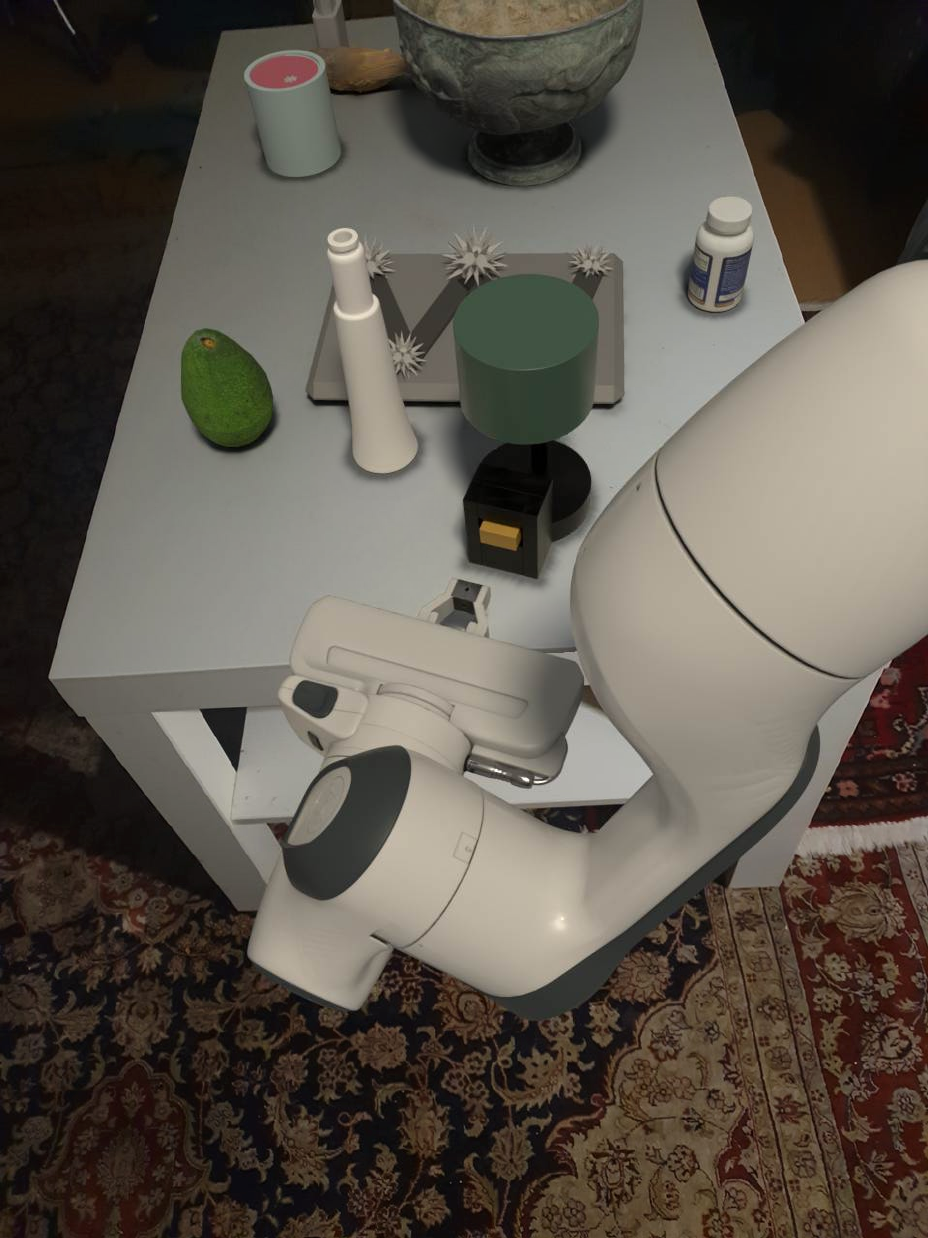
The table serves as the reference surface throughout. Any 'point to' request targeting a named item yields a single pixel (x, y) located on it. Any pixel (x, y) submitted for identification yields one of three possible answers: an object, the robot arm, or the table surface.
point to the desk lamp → (526, 410)
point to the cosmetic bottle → (367, 362)
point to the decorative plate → (429, 296)
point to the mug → (293, 112)
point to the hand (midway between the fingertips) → (472, 586)
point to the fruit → (224, 389)
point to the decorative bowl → (518, 73)
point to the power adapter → (330, 24)
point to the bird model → (360, 67)
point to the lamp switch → (500, 534)
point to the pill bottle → (721, 255)
